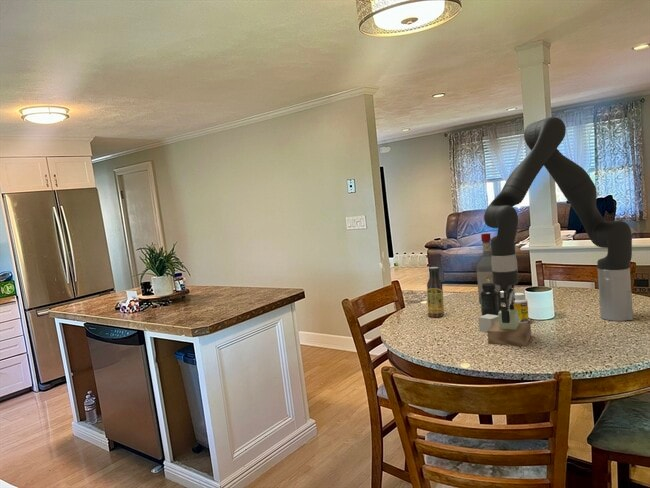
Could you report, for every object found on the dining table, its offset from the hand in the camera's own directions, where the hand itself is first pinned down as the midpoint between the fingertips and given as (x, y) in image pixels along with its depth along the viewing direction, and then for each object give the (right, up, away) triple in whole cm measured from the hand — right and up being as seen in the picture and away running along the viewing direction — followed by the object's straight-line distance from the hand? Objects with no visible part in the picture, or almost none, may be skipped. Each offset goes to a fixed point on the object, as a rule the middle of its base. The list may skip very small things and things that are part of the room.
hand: (508, 319), depth 141 cm
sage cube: (0, -2, 0) cm, 3 cm away
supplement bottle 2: (+12, -4, +18) cm, 22 cm away
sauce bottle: (-13, -5, +39) cm, 41 cm away
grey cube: (-1, -6, +12) cm, 13 cm away
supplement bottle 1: (+6, -4, +32) cm, 33 cm away
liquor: (+14, -2, +51) cm, 53 cm away
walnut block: (+1, -6, 0) cm, 6 cm away
